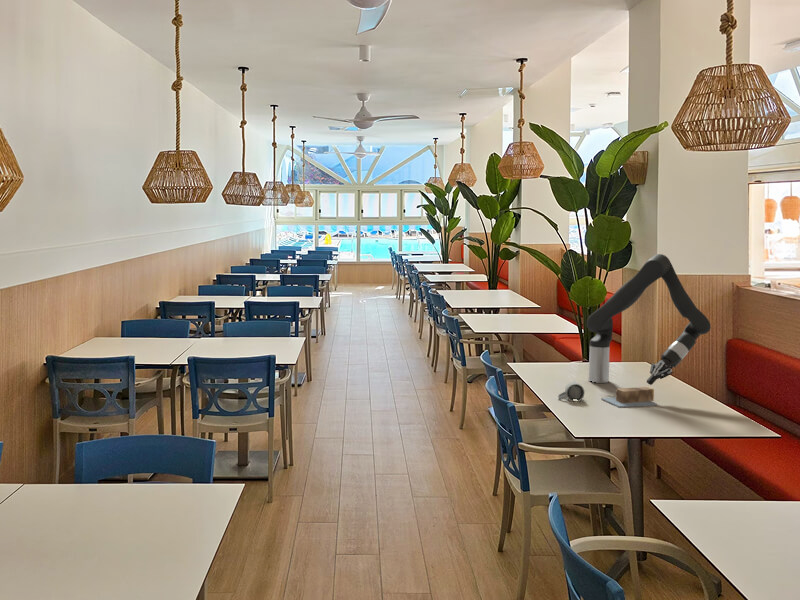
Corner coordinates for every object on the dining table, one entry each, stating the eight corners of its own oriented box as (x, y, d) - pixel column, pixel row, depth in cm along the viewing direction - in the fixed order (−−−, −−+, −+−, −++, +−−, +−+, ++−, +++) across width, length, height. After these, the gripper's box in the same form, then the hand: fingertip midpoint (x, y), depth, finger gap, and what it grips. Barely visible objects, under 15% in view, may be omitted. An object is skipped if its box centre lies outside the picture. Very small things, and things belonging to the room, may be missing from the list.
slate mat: (637, 397, 316) (637, 395, 316) (657, 405, 302) (657, 403, 302) (601, 399, 311) (601, 398, 311) (619, 407, 298) (619, 406, 298)
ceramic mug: (581, 397, 315) (581, 380, 314) (584, 402, 307) (584, 384, 306) (556, 397, 316) (557, 380, 315) (559, 401, 308) (559, 384, 307)
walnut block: (647, 386, 311) (616, 388, 307) (654, 389, 306) (623, 391, 302) (646, 398, 312) (615, 400, 308) (653, 401, 307) (622, 403, 303)
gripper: (660, 345, 316) (634, 374, 314) (679, 350, 303) (652, 380, 301) (670, 357, 318) (644, 385, 316) (689, 362, 305) (663, 392, 303)
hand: (648, 383), depth 308 cm, fingers closed
